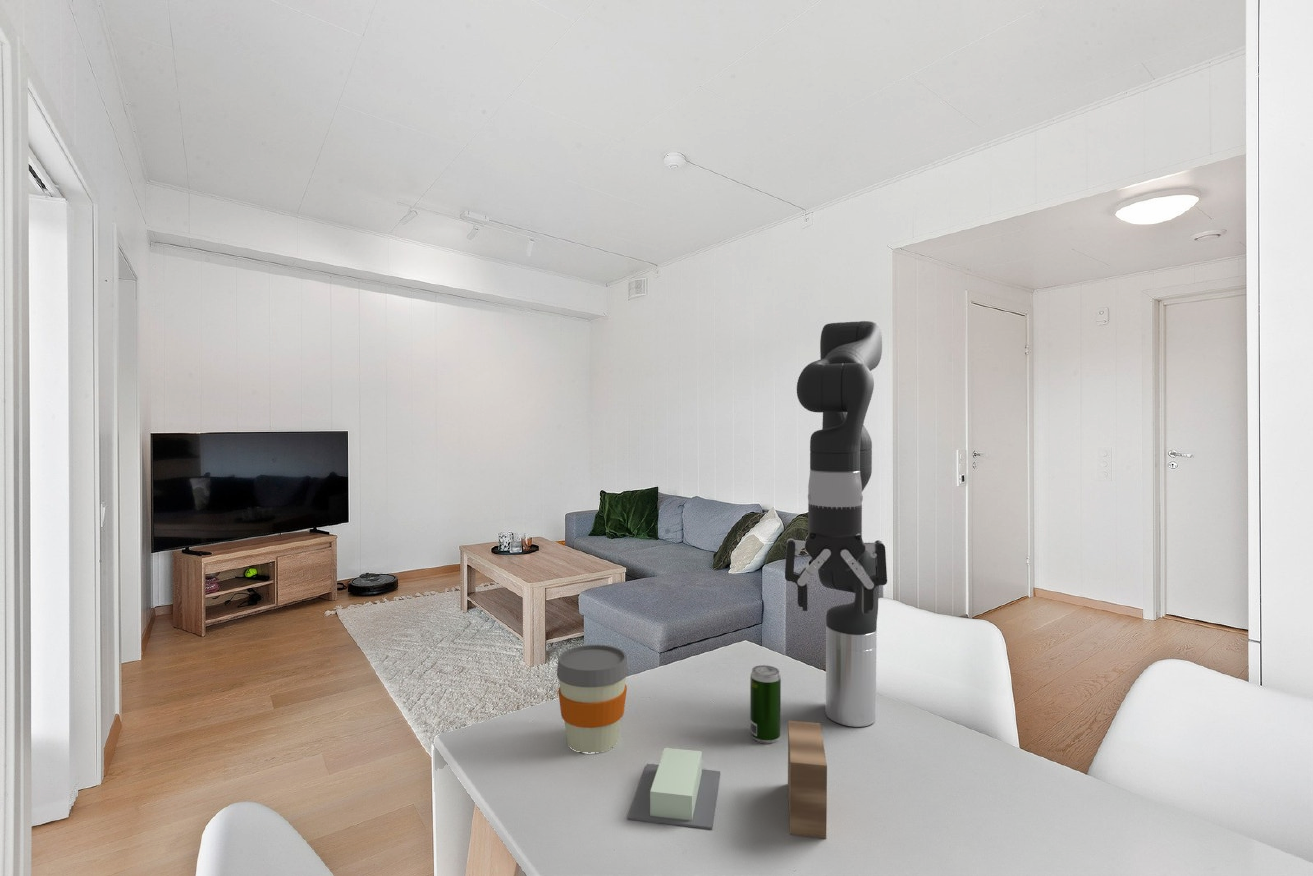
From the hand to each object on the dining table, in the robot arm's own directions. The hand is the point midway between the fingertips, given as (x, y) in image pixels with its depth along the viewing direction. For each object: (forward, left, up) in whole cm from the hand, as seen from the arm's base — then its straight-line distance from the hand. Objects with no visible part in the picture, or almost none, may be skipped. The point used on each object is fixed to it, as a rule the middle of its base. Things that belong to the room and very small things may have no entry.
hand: (834, 611), depth 91 cm
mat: (+2, -23, -29) cm, 37 cm away
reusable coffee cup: (-11, -40, -29) cm, 51 cm away
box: (+2, -4, -29) cm, 29 cm away
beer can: (-18, -10, -29) cm, 35 cm away
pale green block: (+2, -23, -28) cm, 37 cm away
